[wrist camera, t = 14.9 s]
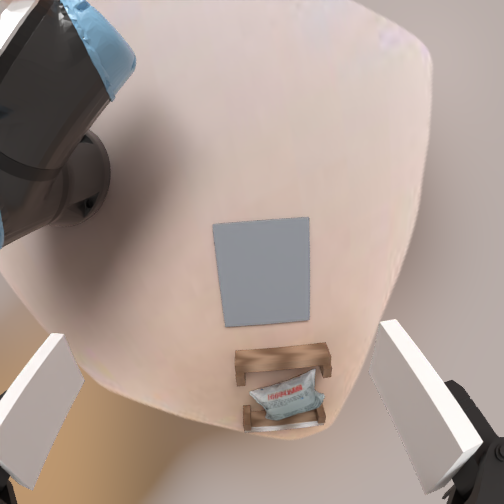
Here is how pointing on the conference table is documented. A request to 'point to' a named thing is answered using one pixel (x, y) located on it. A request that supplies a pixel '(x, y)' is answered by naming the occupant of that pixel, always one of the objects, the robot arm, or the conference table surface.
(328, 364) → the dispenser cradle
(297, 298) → the slate mat
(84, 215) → the robot arm
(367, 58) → the conference table surface
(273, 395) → the packaged food
